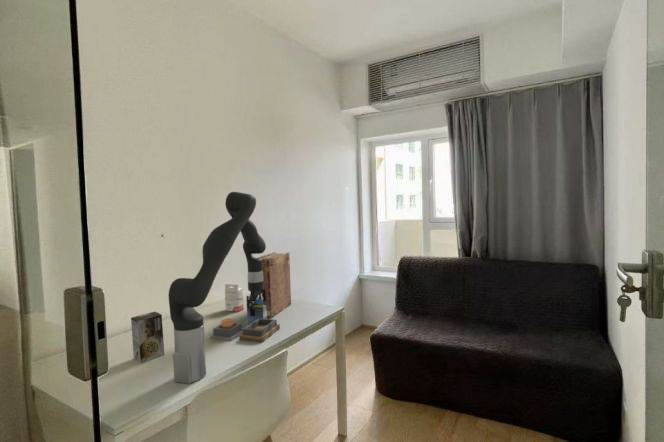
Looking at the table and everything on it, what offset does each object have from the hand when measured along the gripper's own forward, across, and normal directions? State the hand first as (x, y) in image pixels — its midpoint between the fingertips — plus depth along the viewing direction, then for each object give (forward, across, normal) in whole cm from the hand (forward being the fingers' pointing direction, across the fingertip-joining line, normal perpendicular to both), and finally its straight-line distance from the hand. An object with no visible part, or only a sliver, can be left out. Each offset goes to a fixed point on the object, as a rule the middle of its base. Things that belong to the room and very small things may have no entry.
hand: (257, 313), depth 169 cm
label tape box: (+5, 0, 0) cm, 5 cm away
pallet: (+5, -13, -9) cm, 16 cm away
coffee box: (+5, -44, +22) cm, 50 cm away
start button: (+2, -17, +5) cm, 18 cm away
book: (+5, +20, +1) cm, 21 cm away
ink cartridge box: (+5, +16, +23) cm, 28 cm away
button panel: (+5, -17, +5) cm, 18 cm away
